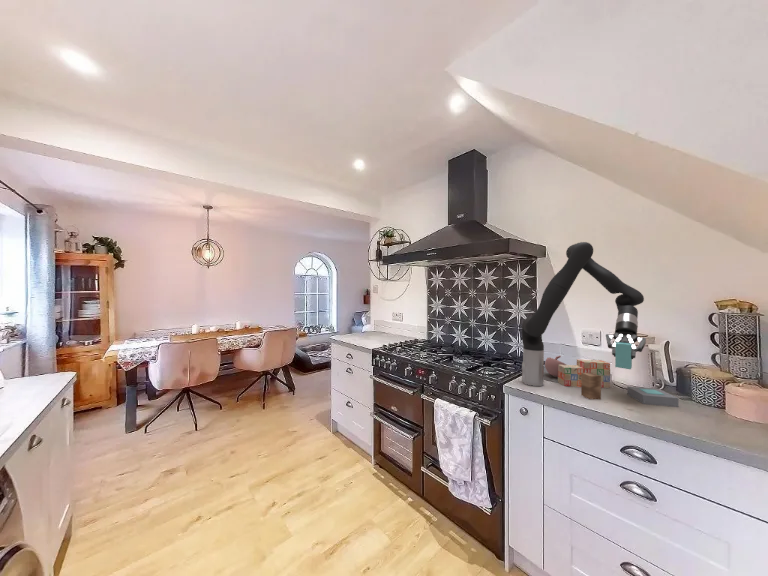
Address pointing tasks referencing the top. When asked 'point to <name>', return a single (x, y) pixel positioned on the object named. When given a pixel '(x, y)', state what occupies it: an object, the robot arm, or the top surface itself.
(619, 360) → the teal block
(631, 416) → the top surface
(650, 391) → the grey square base
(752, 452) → the top surface
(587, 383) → the walnut block
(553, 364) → the pink apple
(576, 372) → the stack of blocks
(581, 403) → the top surface
